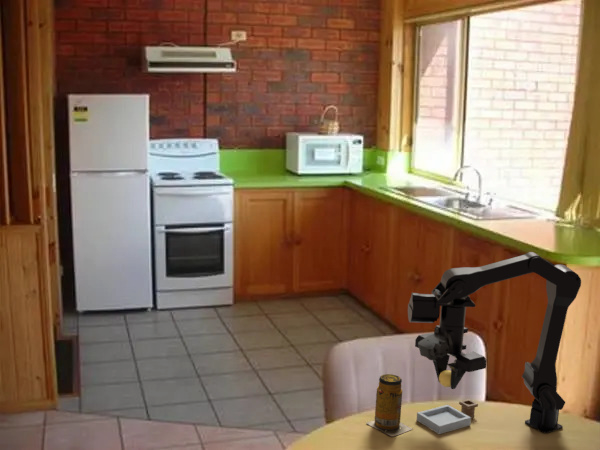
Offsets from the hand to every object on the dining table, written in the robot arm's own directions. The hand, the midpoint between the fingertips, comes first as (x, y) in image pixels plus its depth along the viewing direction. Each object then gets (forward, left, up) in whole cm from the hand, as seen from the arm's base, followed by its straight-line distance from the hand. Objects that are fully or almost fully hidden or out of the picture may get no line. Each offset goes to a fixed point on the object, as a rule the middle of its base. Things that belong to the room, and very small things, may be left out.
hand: (446, 385), depth 178 cm
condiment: (+13, -5, -10) cm, 17 cm away
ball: (0, 0, +2) cm, 2 cm away
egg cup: (-8, -1, -10) cm, 13 cm away
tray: (0, 0, -10) cm, 10 cm away
